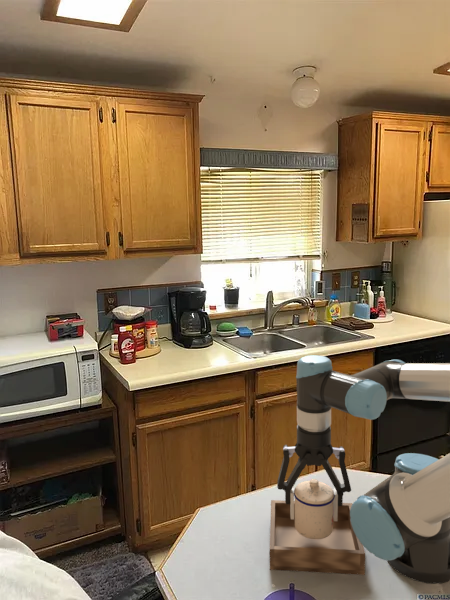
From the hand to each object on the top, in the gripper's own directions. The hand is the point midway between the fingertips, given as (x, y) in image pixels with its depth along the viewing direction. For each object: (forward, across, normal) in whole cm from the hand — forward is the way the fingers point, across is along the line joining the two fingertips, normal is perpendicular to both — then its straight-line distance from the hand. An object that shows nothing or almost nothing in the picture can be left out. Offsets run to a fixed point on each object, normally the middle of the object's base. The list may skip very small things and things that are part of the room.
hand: (313, 516), depth 108 cm
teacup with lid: (+2, +1, 0) cm, 2 cm away
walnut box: (+7, 0, 0) cm, 7 cm away
